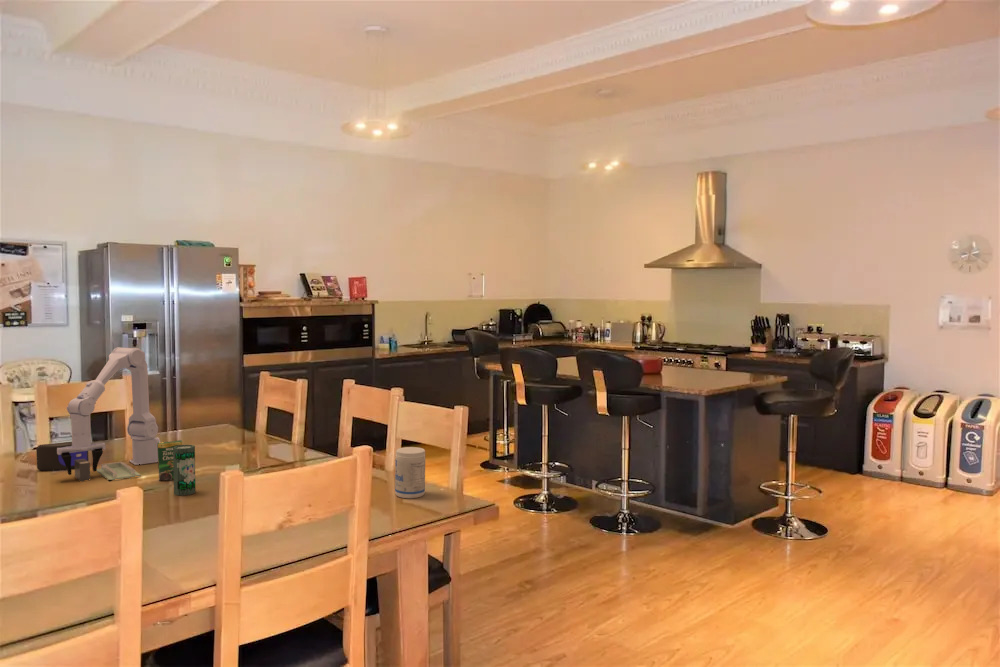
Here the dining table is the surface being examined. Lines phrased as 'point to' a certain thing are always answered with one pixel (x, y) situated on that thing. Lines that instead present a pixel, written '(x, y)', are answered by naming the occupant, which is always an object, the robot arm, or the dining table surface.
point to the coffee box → (166, 459)
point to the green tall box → (184, 469)
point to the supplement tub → (410, 472)
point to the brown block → (82, 469)
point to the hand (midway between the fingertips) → (82, 472)
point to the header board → (117, 471)
